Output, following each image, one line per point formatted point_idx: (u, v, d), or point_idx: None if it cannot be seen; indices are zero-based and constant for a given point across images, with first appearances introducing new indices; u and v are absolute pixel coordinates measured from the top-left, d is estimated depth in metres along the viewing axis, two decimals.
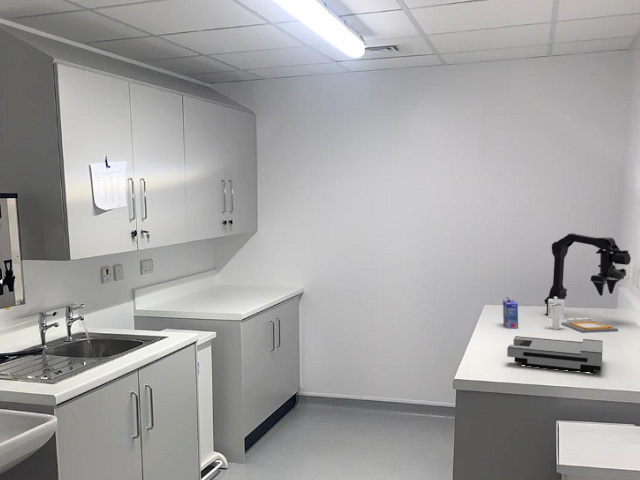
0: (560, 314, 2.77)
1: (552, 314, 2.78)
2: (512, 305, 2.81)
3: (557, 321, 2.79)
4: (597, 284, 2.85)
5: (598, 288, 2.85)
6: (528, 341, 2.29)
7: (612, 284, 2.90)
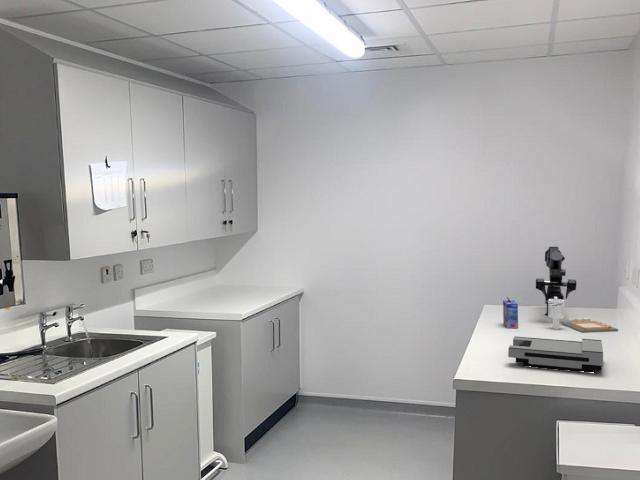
0: (560, 314, 2.77)
1: (552, 314, 2.78)
2: (512, 305, 2.81)
3: (557, 321, 2.79)
4: (542, 289, 2.93)
5: (543, 293, 2.91)
6: (528, 341, 2.29)
7: (566, 290, 2.88)
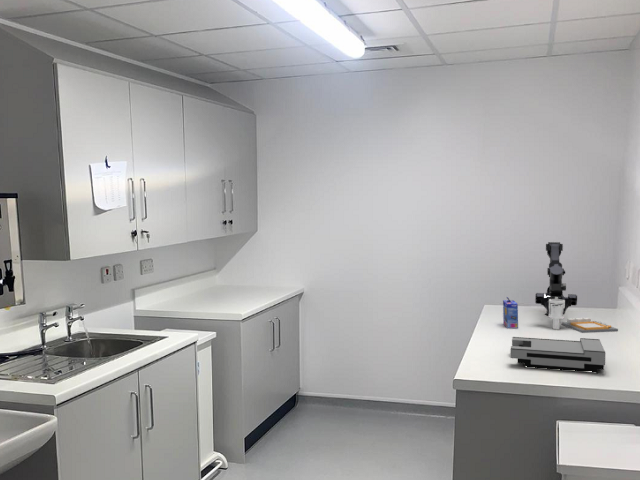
0: (560, 314, 2.77)
1: (552, 314, 2.78)
2: (512, 305, 2.81)
3: (557, 321, 2.78)
4: (545, 304, 2.84)
5: (546, 308, 2.82)
6: (527, 342, 2.29)
7: None
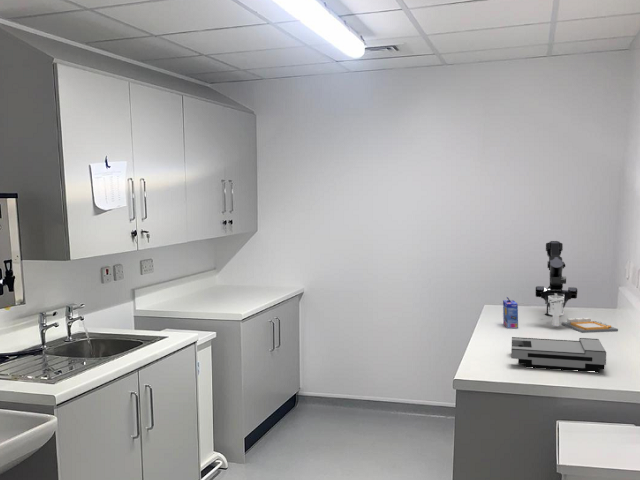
0: (560, 311, 2.77)
1: (552, 311, 2.78)
2: (512, 305, 2.81)
3: (557, 318, 2.79)
4: (545, 298, 2.84)
5: (546, 301, 2.82)
6: (527, 342, 2.28)
7: (564, 298, 2.80)
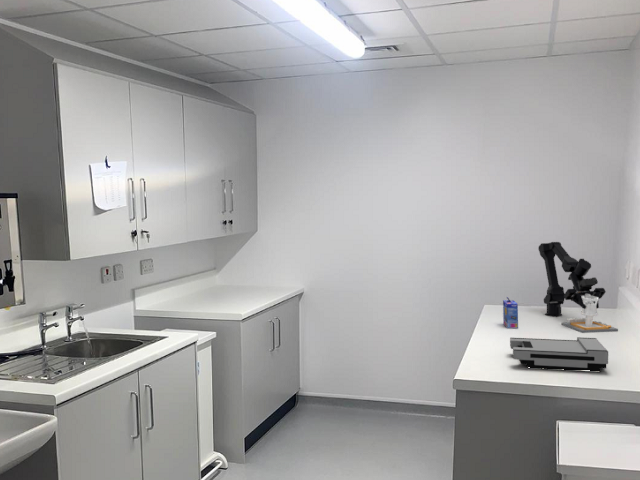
0: (595, 311, 2.77)
1: (588, 312, 2.76)
2: (512, 305, 2.81)
3: (591, 318, 2.78)
4: (576, 300, 2.81)
5: (579, 303, 2.79)
6: (527, 342, 2.28)
7: None
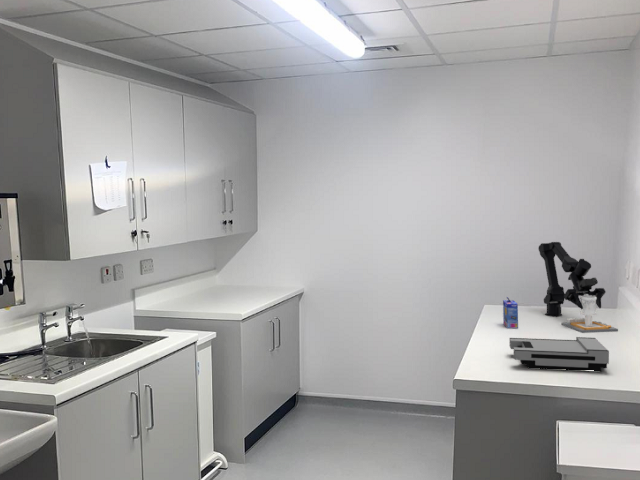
0: (594, 310, 2.77)
1: (587, 311, 2.77)
2: (512, 305, 2.81)
3: (591, 318, 2.78)
4: (574, 300, 2.81)
5: (577, 303, 2.79)
6: (527, 342, 2.28)
7: (597, 299, 2.80)
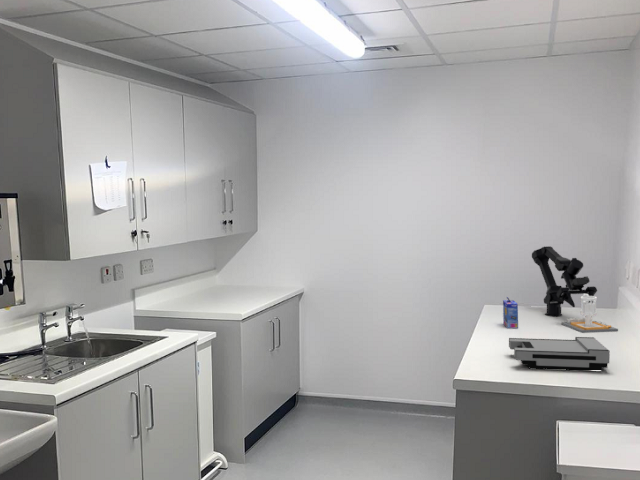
0: (594, 311, 2.77)
1: (587, 311, 2.77)
2: (512, 305, 2.81)
3: (591, 318, 2.78)
4: (566, 298, 2.88)
5: (569, 302, 2.86)
6: (527, 342, 2.27)
7: None
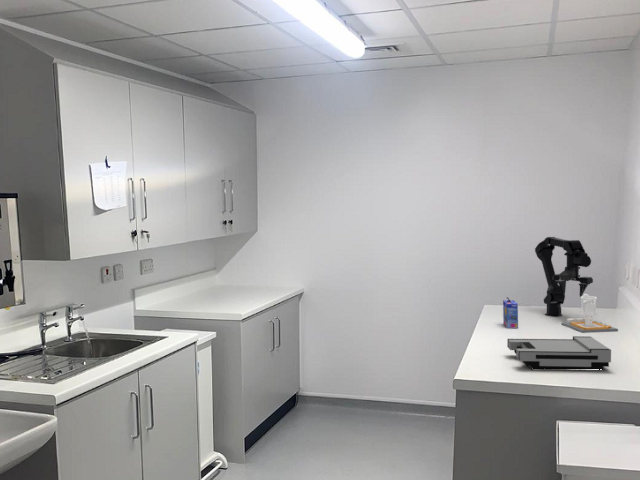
0: (594, 311, 2.77)
1: (587, 311, 2.77)
2: (512, 305, 2.81)
3: (591, 318, 2.78)
4: None
5: None
6: (527, 343, 2.27)
7: None
